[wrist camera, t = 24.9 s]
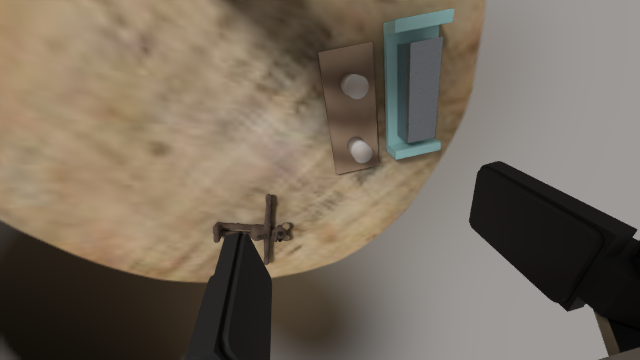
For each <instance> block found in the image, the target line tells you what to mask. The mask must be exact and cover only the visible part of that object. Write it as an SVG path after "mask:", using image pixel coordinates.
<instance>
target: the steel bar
mask: <svg viewBox="0 0 640 360" xmlns="http://www.w3.org/2000/svg"><path fill="white" fill-rule="evenodd" d="M442 46H443V37H437V38H429V39H423V40H418V41H413V42H408V43H403V44H398V45H397V136H399V137H400V138H402V139H403V140H405V141H406V142H408V143H410V142H415V141H420V140H424V139H429V138H433V137H435V129H436V117H437V105H438V93H439V81H440V70H441V58H442Z"/></svg>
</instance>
